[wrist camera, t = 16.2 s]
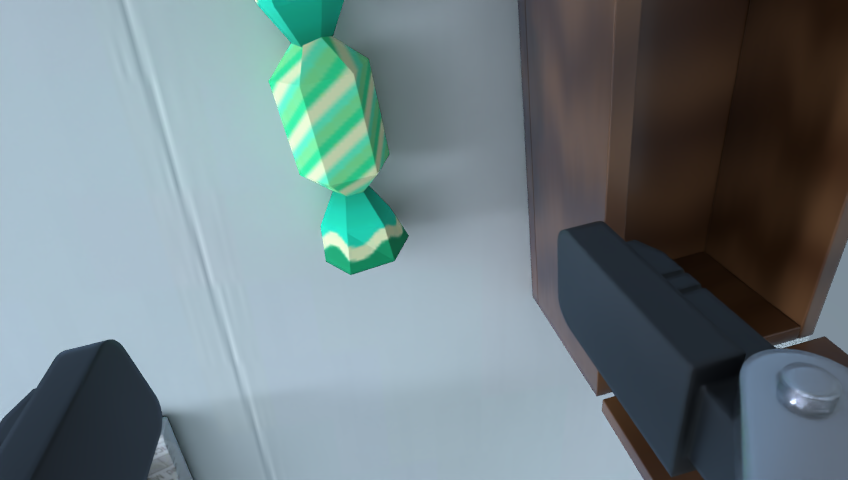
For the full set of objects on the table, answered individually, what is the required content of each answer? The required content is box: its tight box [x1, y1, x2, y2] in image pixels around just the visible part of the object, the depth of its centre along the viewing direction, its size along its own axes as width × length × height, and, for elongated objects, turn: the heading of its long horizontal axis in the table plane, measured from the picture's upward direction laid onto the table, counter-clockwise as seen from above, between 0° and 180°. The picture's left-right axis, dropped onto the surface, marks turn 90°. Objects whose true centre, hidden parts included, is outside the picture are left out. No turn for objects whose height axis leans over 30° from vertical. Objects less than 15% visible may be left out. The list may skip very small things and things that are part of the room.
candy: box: [255, 0, 409, 275], centre depth 19 cm, size 12×3×4 cm
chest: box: [518, 0, 848, 396], centre depth 20 cm, size 18×11×7 cm, turn 9°
